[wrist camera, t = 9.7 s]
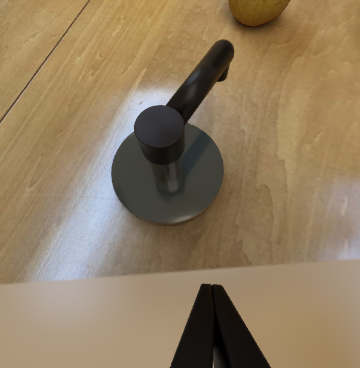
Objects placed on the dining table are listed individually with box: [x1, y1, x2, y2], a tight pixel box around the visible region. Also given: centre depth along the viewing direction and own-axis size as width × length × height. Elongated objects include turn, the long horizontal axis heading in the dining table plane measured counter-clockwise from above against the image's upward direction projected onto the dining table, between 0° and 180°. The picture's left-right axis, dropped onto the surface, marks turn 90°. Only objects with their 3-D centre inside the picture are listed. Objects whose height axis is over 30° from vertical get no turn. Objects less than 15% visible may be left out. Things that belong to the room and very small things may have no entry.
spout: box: [134, 39, 234, 165], centre depth 19 cm, size 13×4×4 cm, turn 148°
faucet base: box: [111, 123, 224, 226], centre depth 22 cm, size 12×12×6 cm
